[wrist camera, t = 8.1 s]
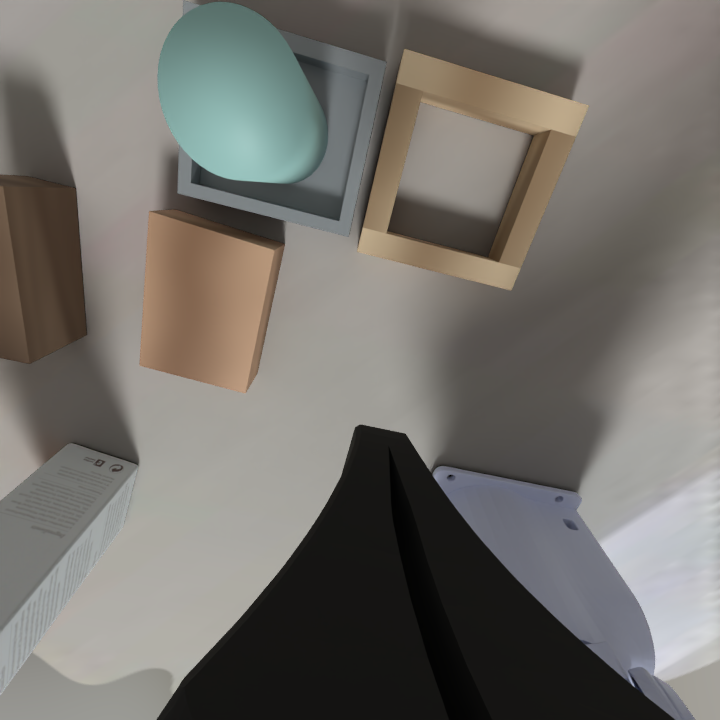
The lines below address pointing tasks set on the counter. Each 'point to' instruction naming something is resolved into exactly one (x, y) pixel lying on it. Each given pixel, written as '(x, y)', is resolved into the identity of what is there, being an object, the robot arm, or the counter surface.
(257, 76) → the teal capsule
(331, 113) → the tray
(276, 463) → the counter surface
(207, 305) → the tan cardboard block
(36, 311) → the stop block
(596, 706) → the robot arm
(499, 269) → the socket block
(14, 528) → the skincare box
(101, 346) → the counter surface
